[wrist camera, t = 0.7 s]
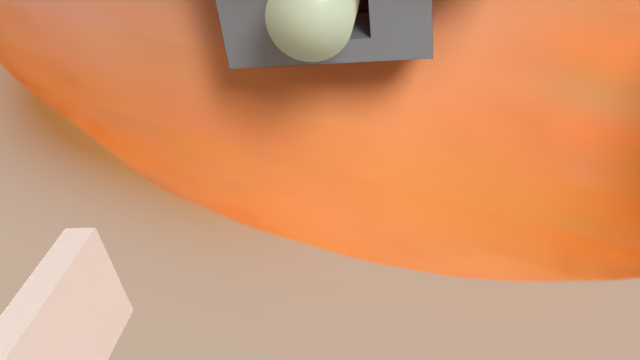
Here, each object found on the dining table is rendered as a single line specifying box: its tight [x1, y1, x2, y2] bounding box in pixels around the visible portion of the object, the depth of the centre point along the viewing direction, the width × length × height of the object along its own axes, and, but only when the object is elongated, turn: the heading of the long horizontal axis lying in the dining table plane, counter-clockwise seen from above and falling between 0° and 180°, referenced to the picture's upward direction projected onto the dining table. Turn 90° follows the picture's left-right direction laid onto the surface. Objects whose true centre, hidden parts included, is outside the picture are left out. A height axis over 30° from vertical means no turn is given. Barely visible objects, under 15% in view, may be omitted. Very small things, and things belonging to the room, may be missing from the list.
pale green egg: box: [265, 0, 360, 62], centre depth 32 cm, size 4×4×6 cm
